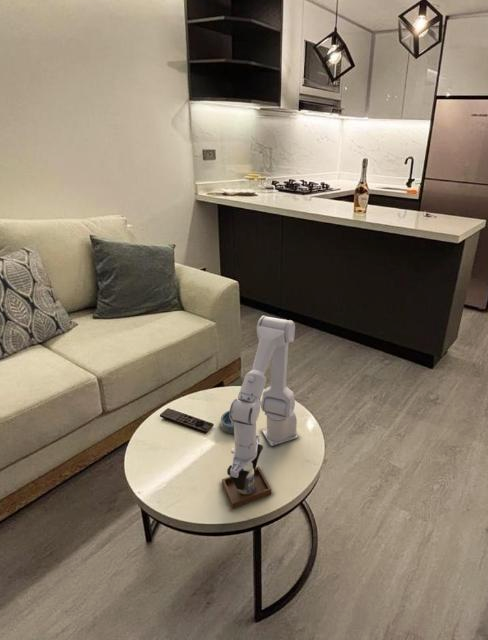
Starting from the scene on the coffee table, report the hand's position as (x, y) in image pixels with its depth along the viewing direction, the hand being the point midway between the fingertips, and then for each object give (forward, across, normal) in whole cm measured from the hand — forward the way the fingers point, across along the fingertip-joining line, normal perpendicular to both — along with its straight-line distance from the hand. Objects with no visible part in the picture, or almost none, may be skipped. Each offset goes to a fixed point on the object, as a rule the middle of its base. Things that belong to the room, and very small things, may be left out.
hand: (246, 477), depth 113 cm
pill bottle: (+4, 0, 0) cm, 4 cm away
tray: (+4, 0, 0) cm, 4 cm away
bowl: (+4, -24, -15) cm, 28 cm away
